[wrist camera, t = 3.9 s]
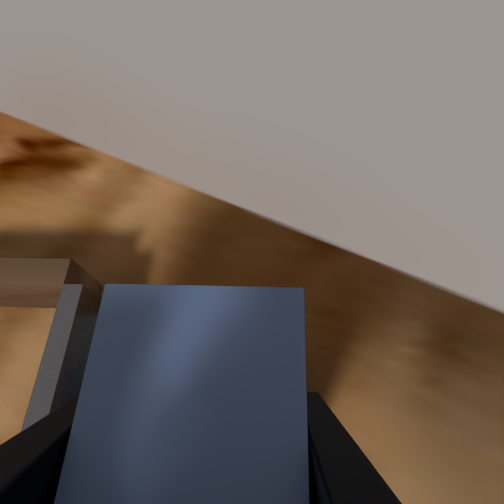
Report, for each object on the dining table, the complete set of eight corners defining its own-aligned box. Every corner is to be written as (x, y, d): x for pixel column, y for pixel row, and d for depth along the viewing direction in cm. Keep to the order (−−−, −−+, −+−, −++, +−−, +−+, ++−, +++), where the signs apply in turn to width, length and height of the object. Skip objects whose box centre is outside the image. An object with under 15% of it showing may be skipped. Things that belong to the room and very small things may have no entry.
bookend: (120, 485, 14) (83, 499, 11) (54, 481, 14) (2, 494, 11) (150, 308, 17) (127, 285, 14) (96, 306, 17) (63, 284, 14)
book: (288, 494, 13) (311, 582, 6) (169, 487, 14) (39, 563, 6) (288, 355, 16) (303, 285, 8) (185, 352, 16) (105, 281, 8)
